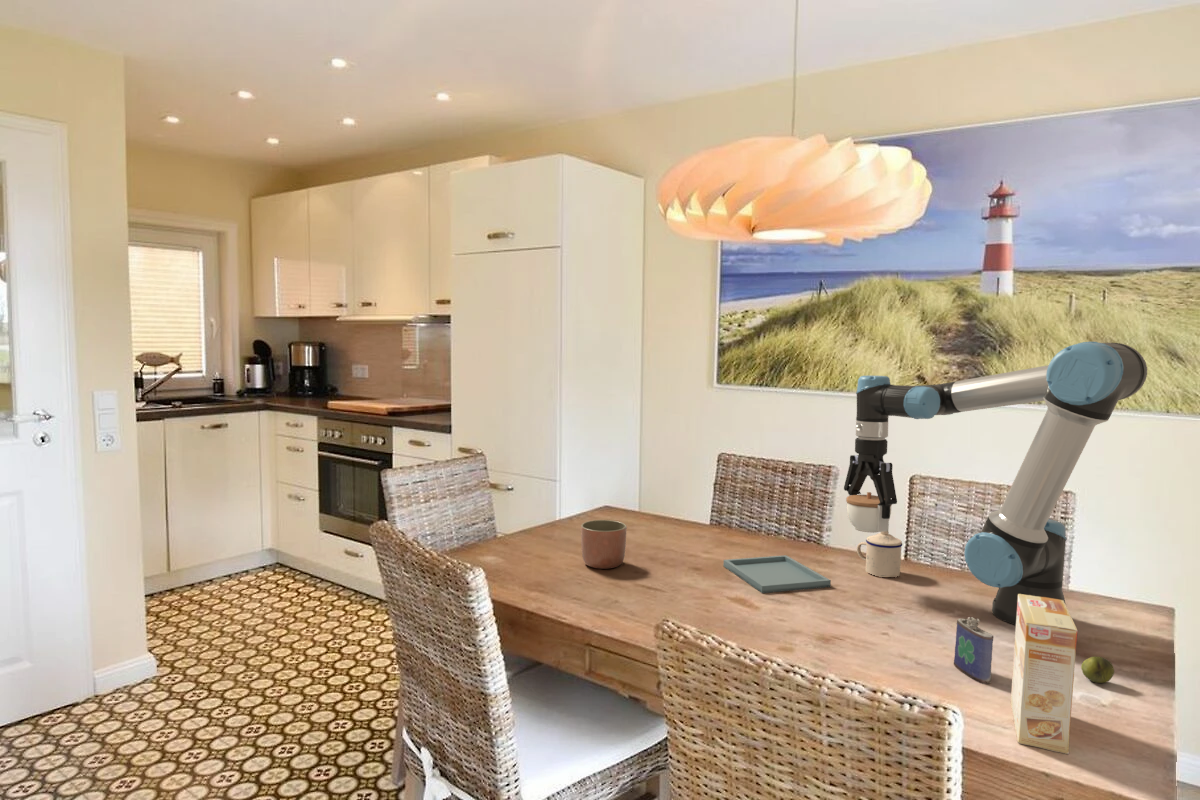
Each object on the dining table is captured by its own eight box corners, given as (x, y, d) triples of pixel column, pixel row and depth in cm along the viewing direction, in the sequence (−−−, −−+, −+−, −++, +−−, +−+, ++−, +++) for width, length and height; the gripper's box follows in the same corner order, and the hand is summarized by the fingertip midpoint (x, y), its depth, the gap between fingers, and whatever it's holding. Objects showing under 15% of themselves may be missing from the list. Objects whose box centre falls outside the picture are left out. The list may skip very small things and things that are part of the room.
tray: (830, 587, 188) (830, 580, 188) (762, 593, 183) (762, 586, 183) (785, 561, 209) (786, 555, 209) (723, 566, 204) (723, 559, 204)
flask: (993, 684, 136) (997, 626, 135) (979, 684, 136) (982, 627, 135) (962, 662, 145) (965, 608, 144) (948, 663, 145) (951, 609, 144)
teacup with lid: (906, 573, 200) (909, 531, 199) (891, 581, 193) (893, 536, 192) (864, 563, 208) (866, 522, 207) (848, 570, 202) (850, 527, 201)
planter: (612, 574, 196) (612, 533, 195) (571, 566, 202) (572, 527, 201) (633, 562, 206) (634, 523, 205) (595, 555, 212) (595, 517, 212)
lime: (1076, 678, 139) (1078, 652, 139) (1097, 676, 140) (1099, 650, 140) (1097, 689, 135) (1099, 662, 134) (1119, 687, 136) (1121, 660, 135)
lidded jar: (870, 522, 194) (871, 487, 193) (900, 532, 184) (902, 495, 183) (836, 526, 190) (837, 489, 189) (865, 536, 180) (866, 498, 179)
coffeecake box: (1070, 755, 113) (1079, 630, 111) (1016, 744, 116) (1024, 622, 114) (1057, 711, 127) (1065, 598, 125) (1009, 702, 130) (1016, 592, 128)
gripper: (831, 432, 195) (828, 515, 197) (888, 444, 173) (884, 538, 175) (856, 432, 197) (853, 514, 199) (915, 443, 175) (912, 536, 177)
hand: (868, 525), depth 187 cm, fingers closed on lidded jar, 11 cm apart
